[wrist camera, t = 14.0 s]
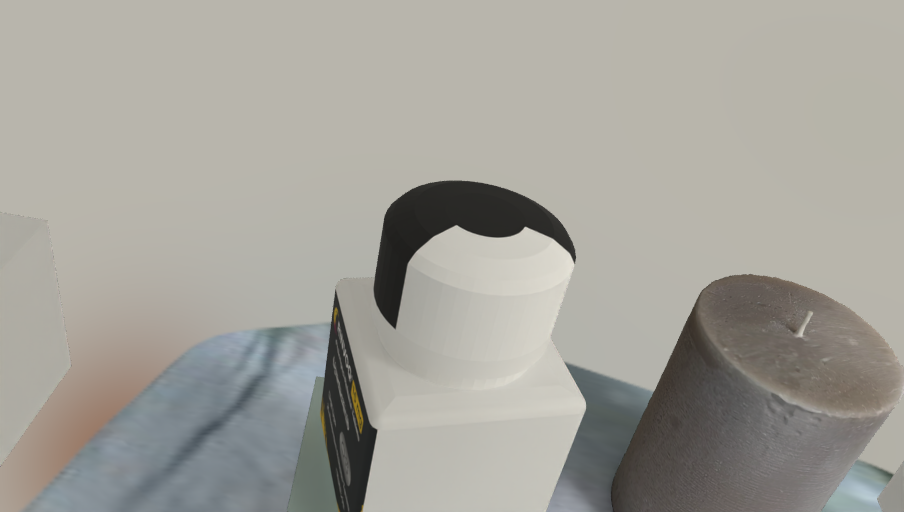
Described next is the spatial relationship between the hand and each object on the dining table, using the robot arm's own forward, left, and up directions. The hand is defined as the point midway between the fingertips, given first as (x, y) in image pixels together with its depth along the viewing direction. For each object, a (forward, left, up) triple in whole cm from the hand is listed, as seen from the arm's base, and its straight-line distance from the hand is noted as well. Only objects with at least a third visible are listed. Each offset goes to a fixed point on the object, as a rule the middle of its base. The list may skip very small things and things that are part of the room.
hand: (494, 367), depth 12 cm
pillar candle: (-18, -19, -26) cm, 37 cm away
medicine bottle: (-1, -12, -17) cm, 20 cm away
